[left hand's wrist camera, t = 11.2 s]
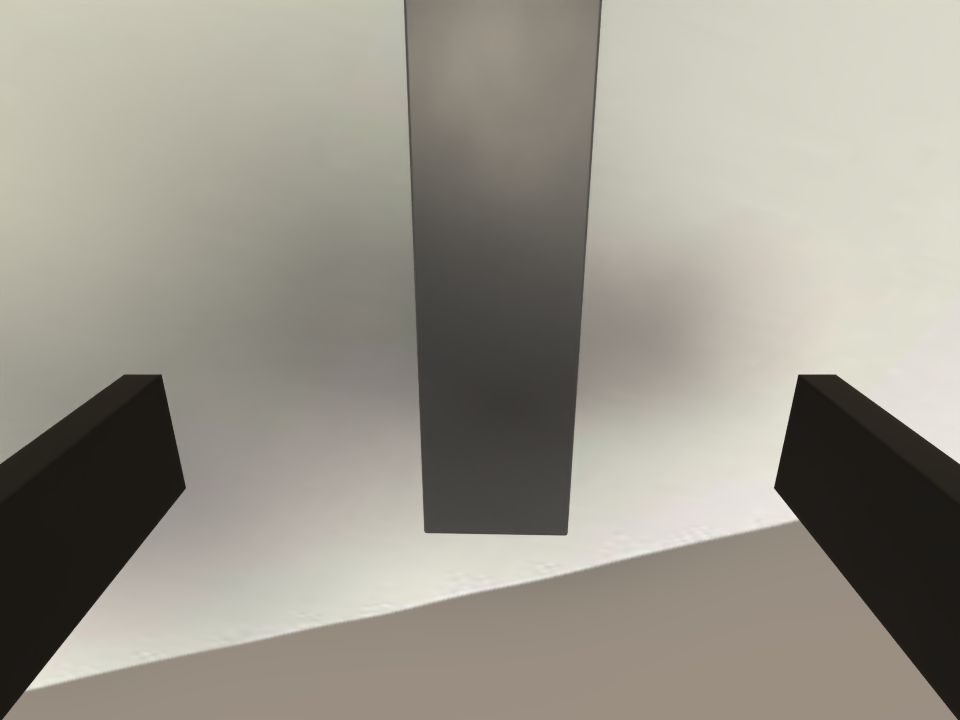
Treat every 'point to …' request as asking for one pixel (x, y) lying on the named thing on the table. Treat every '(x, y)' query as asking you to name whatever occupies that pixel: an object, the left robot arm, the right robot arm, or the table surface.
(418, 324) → the post
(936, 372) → the table surface
